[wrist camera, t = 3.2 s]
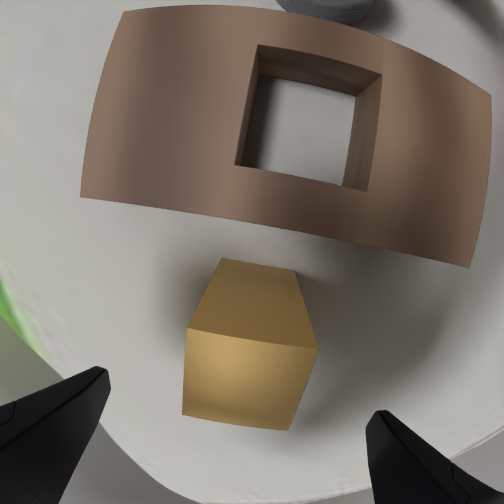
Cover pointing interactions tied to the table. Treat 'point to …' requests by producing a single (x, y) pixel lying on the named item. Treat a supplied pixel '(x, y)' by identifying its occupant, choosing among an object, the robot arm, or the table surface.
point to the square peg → (248, 348)
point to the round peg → (330, 9)
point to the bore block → (238, 119)
